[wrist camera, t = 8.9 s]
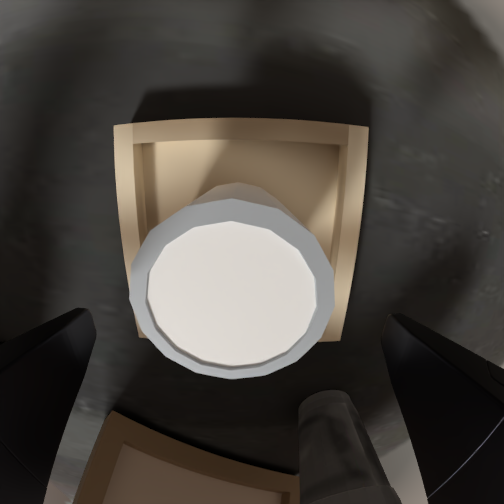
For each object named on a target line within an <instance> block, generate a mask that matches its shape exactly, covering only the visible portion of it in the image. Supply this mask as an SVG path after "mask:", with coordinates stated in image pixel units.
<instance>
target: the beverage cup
mask: <svg viewBox="0 0 504 504" xmlns="http://www.w3.org/2000/svg"><path fill="white" fill-rule="evenodd" d="M298 414H299V422H298V440H299V479H300V504H402V503H401V500H400V498H399V497H398V495H397V493H396V492H395V490H394V488H392V487H391V486H390V484H389V481H388V479H387V477H386V475H385V472H384V470H383V468H382V466H381V463H380V461H379V458H378V456H377V454H376V452H375V449H374V447H373V445H372V443H371V440H370V438H369V436H368V434H367V431H366V429H365V427H364V425H363V423H362V420H361V418H360V416H359V414H358V412H357V409H356V408H355V407H354V405H353V403H352V402H351V399H350V396H349V395H348V394H347V393H345V392H343V391H340V390H327V391H321V392H318V393H315V394H313V395H311V396H309V397H308V398H306V399H305V400H304V401H303V402H302V403H301V405H300V406H299V409H298Z"/></svg>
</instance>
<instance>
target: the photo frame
mask: <svg viewBox="0 0 504 504" xmlns="http://www.w3.org/2000/svg"><path fill="white" fill-rule="evenodd" d="M72 504H300V479H299V477H298V476H293V475H289V474H284V473H279V472H275V471H271V470H267V469H263V468H259V467H255V466H251V465H248V464H244V463H241V462H237V461H234V460H231V459H227V458H224V457H221V456H218V455H215V454H212V453H209V452H206V451H203V450H201V449H198V448H195V447H193V446H190V445H187V444H185V443H182V442H180V441H177V440H175V439H172V438H170V437H168V436H165V435H163V434H161V433H158V432H156V431H154V430H152V429H149V428H147V427H145V426H143V425H141V424H139V423H137V422H135V421H133V420H131V419H129V418H127V417H125V416H123V415H121V414H119V413H117V412H115V411H113V410H112V412H111V413H110V414H109V415H108V417H107V418H106V419H105V420H104V423H103V425H102V427H101V430H100V432H99V435H98V437H97V440H96V442H95V445H94V447H93V450H92V452H91V455H90V457H89V460H88V462H87V465H86V468H85V470H84V473H83V476H82V478H81V481H80V484H79V486H78V489H77V492H76V495H75V498H74V500H73V503H72Z"/></svg>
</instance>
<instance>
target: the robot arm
mask: <svg viewBox="0 0 504 504" xmlns="http://www.w3.org/2000/svg"><path fill="white" fill-rule="evenodd" d="M95 340H96V328H95V325H94V322H93V318H92V314H91V312H90V310H89V309H86V308H75V309H73V310H71V311H69V312H67V313H65V314H63V315H61V316H59V317H57V318H55V319H53V320H50V321H48V322H46V323H44V324H42V325H40V326H38V327H36V328H34V329H32V330H30V331H28V332H26V333H24V334H22V335H20V336H18V337H16V338H14V339H12V340H10V341H8V342H6V343H4V344H2V343H0V504H43V502H44V497H45V494H46V490H47V488H46V487H47V485H48V482H49V478H50V475H51V471H52V468H53V464H54V461H55V458H56V454H57V451H58V448H59V445H60V442H61V439H62V436H63V433H64V430H65V427H66V424H67V421H68V418H69V416H70V413H71V410H72V407H73V405H74V402H75V399H76V397H77V394H78V392H79V389H80V387H81V384H82V381H83V379H84V376H85V373H86V370H87V366H88V363H89V359H90V356H91V353H92V349H93V346H94V343H95ZM381 344H382V348H383V352H384V356H385V360H386V363H387V367H388V372H389V376H390V379H391V383H392V386H393V389H394V392H395V395H396V398H397V400H398V403H399V406H400V409H401V412H402V415H403V418H404V421H405V424H406V427H407V430H408V433H409V436H410V439H411V443H412V446H413V449H414V452H415V456H416V459H417V462H418V466H419V469H420V473H421V476H422V480H423V484H424V488H425V491H426V496H427V498H428V499H427V500H428V504H504V369H503V368H501V367H499V366H497V365H495V364H493V363H492V362H490V361H488V360H487V361H486V359H484V358H482V357H481V356H479V355H477V354H475V353H473V352H472V351H470V350H468V349H466V348H464V347H462V346H461V345H459V344H457V343H455V342H453V341H451V340H450V339H448V338H446V337H444V336H442V335H440V334H438V333H437V332H435V331H433V330H431V329H429V328H427V327H425V326H424V325H422V324H420V323H418V322H416V321H414V320H412V319H411V318H409V317H407V316H405V315H403V314H401V313H397V314H389V315H388V316H387V319H386V322H385V325H384V329H383V332H382V336H381Z"/></svg>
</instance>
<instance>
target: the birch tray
mask: <svg viewBox="0 0 504 504" xmlns="http://www.w3.org/2000/svg"><path fill="white" fill-rule="evenodd" d="M368 132H369V127H363V126H356V125H348V124H339V123H330V122H319V121H307V120H292V119H271V118H198V119H178V120H163V121H151V122H140V123H131V124H123V125H115V126H114V154H115V174H116V188H117V200H118V211H119V221H120V229H121V237H122V245H123V252H124V259H125V266H126V272H127V278H128V284H129V290H130V276H131V264H132V262H133V260H134V258H135V256H136V254H137V253H138V251H139V249H140V247H141V246H142V244H143V242H144V240H145V239H146V237H147V235H148V234H149V232H150V230H152V229H153V228H155V227H156V226H157V225H159V224H160V223H162V222H163V221H165V220H166V219H168V218H169V217H170V216H172V215H173V214H175V213H176V212H178V211H179V210H181V209H182V208H184V207H185V206H187V205H188V204H190V203H191V202H193V201H194V200H196V199H197V198H199V197H200V196H202V195H203V194H205V193H207V192H208V191H210V190H211V189H213V188H214V187H216V186H218V185H224V184H230V183H236V182H241V183H245V184H249V185H254V186H258V187H261V188H262V189H264V190H265V191H266V192H268V193H269V194H270V195H272V196H273V197H275V198H276V199H277V200H278V201H280V202H281V203H282V204H283V205H284V206H285V207H286V208H287V209H288V210H289V211H290V212H291V213H292V214H293V215H294V216H295V217H296V218H297V219H298V220H299V221H300V222H301V223H302V224H303V225H304V226H305V227H306V228H307V229H309V230H310V231H311V232H312V233H313V234H314V235H315V237H316V239H317V241H318V243H319V244H320V246H321V248H322V250H323V252H324V254H325V255H326V257H327V259H328V261H329V263H330V265H331V267H332V269H333V270H334V295H335V307H334V309H333V312H332V314H331V316H330V319H329V321H328V323H327V326H326V328H325V330H324V333H323V335H322V337H321V338H320V339H319V340H318V341H317V342H326V341H340V338H341V334H342V329H343V324H344V320H345V315H346V310H347V305H348V299H349V294H350V289H351V283H352V277H353V271H354V265H355V259H356V253H357V246H358V239H359V231H360V224H361V216H362V207H363V198H364V188H365V177H366V165H367V150H368ZM134 315H135V313H134ZM135 320H136V325H137V329H138V334H139V338H148V337H147V336H146V335H145V334H144V333H143V332H142V330H141V328H140V325H139V323H138V320H137V318H136V315H135Z"/></svg>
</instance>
